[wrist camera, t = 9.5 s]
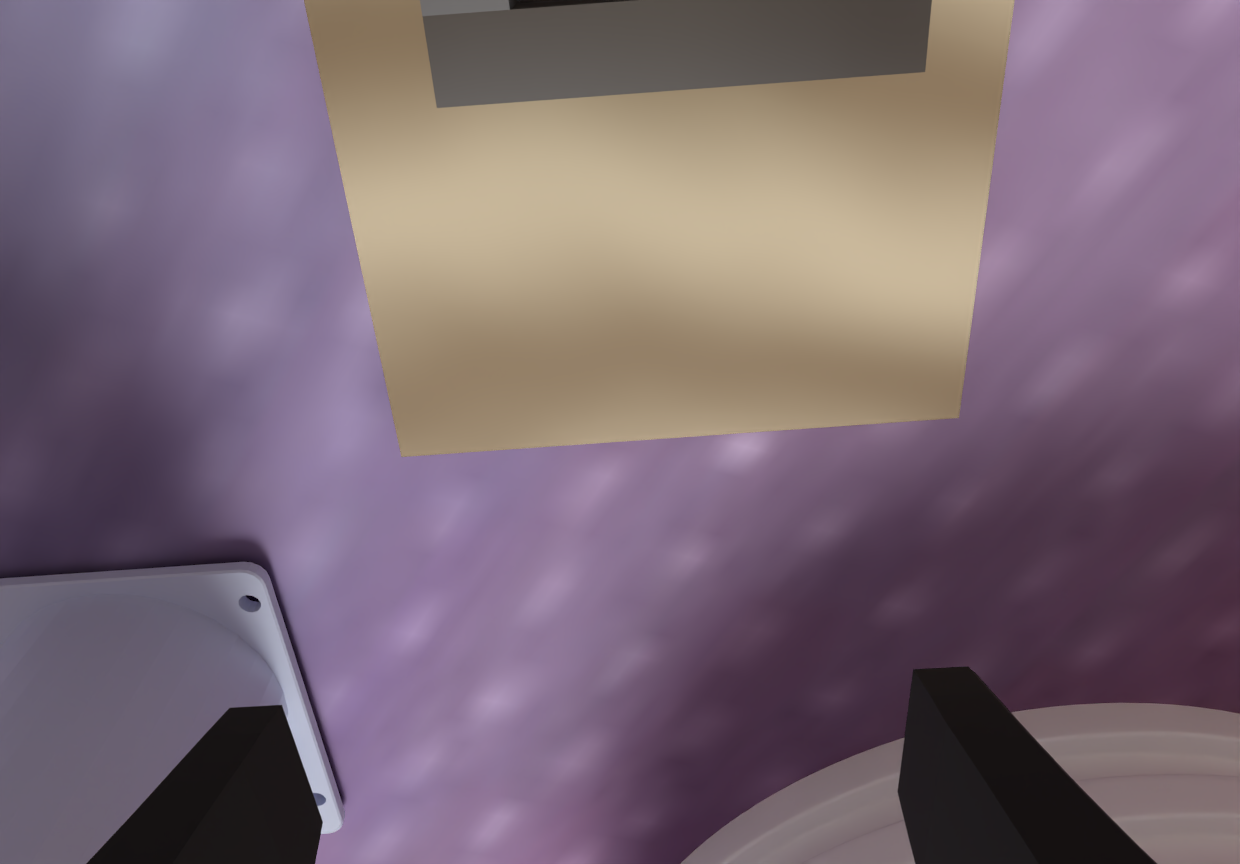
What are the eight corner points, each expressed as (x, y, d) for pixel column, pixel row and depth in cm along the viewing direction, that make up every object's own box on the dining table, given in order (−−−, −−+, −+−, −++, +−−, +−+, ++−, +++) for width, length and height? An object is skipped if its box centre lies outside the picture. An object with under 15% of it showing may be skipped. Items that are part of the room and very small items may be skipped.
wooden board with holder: (942, 396, 20) (1021, 499, 16) (410, 434, 20) (368, 544, 16) (1056, -539, 13) (1243, -731, 9) (223, -472, 13) (75, -637, 9)
